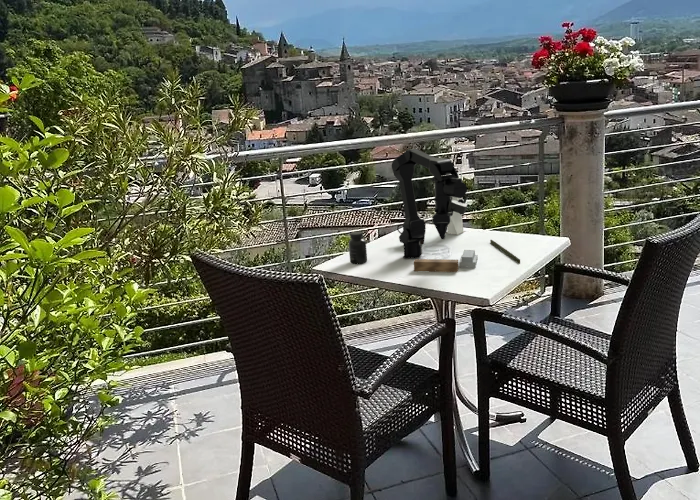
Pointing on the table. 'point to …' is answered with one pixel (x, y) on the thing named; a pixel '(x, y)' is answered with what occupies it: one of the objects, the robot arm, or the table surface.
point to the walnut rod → (436, 265)
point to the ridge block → (468, 259)
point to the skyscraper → (455, 220)
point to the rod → (505, 251)
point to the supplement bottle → (357, 248)
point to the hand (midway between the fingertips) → (443, 236)
